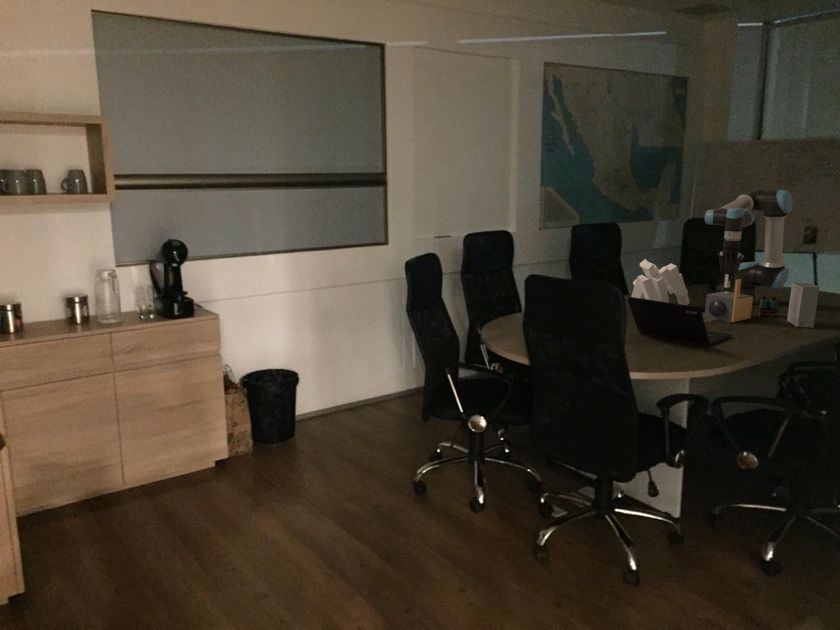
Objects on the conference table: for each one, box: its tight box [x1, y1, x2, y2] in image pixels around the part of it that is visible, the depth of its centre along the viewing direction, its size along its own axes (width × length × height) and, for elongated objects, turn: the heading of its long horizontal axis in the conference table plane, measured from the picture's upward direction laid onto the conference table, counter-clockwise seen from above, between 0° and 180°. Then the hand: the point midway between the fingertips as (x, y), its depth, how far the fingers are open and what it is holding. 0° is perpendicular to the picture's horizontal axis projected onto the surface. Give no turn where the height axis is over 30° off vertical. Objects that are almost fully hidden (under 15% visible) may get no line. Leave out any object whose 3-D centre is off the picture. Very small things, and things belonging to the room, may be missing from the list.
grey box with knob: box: [704, 290, 750, 323], centre depth 339 cm, size 18×14×13 cm
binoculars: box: [758, 295, 780, 319], centre depth 344 cm, size 9×11×10 cm
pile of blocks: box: [630, 258, 691, 305], centre depth 359 cm, size 35×30×35 cm
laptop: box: [627, 296, 732, 346], centre depth 297 cm, size 33×38×19 cm
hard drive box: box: [786, 281, 820, 329], centre depth 326 cm, size 16×8×20 cm, turn 168°
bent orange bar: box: [730, 279, 753, 323], centre depth 332 cm, size 16×1×21 cm, turn 125°
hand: (726, 287), depth 331 cm, fingers closed
